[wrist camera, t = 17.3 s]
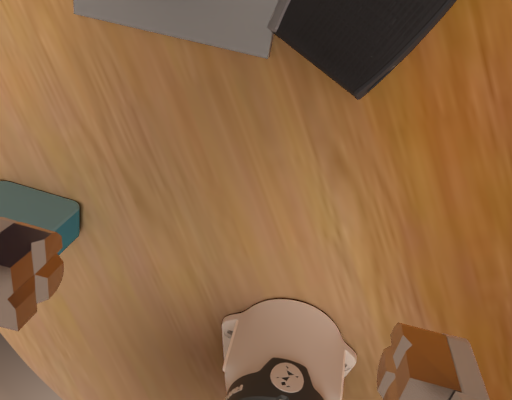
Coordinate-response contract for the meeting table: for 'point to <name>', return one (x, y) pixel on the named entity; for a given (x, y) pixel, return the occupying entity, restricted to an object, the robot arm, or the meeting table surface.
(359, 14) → the external hard drive
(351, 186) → the meeting table surface
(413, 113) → the meeting table surface
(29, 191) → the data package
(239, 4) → the mug holder
